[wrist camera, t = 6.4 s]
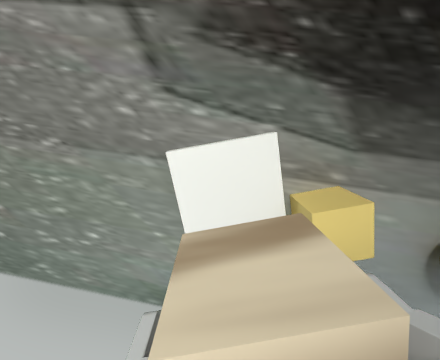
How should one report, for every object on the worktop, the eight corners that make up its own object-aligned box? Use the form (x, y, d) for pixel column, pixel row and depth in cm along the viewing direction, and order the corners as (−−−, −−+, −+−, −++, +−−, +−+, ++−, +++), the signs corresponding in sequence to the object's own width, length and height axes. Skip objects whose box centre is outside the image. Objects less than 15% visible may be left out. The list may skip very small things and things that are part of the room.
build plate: (168, 150, 20) (165, 152, 19) (273, 131, 20) (276, 132, 19) (190, 244, 23) (189, 250, 21) (283, 227, 22) (287, 233, 21)
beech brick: (182, 234, 9) (147, 361, 4) (300, 212, 9) (410, 315, 4) (205, 329, 10) (199, 516, 5) (310, 310, 10) (402, 481, 5)
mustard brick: (289, 194, 22) (311, 213, 17) (337, 185, 22) (374, 202, 17) (293, 238, 23) (315, 267, 18) (339, 229, 23) (374, 257, 18)
